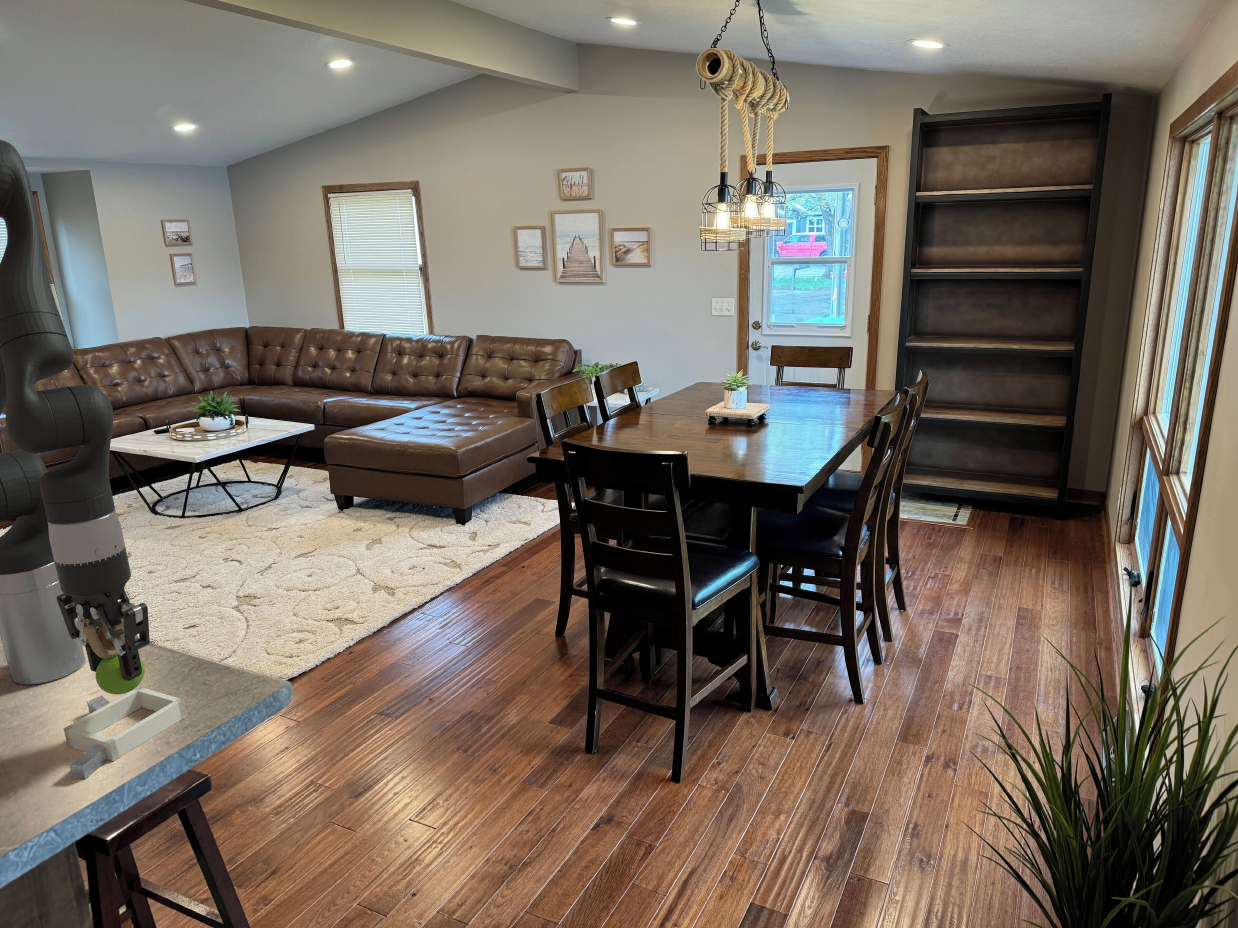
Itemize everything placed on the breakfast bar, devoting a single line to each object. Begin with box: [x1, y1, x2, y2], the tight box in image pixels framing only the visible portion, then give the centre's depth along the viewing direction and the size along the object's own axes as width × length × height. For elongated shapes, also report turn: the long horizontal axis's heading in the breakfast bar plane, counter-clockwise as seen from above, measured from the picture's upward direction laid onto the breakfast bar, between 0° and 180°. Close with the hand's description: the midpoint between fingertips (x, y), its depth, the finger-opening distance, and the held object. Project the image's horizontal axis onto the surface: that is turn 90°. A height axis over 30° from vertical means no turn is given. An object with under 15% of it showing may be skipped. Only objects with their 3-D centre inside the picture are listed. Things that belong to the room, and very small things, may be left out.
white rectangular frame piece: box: [63, 686, 188, 780], centre depth 109 cm, size 13×15×2 cm
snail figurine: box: [80, 618, 146, 696], centre depth 107 cm, size 5×6×12 cm
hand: (116, 672), depth 108 cm, fingers closed on snail figurine, 5 cm apart
